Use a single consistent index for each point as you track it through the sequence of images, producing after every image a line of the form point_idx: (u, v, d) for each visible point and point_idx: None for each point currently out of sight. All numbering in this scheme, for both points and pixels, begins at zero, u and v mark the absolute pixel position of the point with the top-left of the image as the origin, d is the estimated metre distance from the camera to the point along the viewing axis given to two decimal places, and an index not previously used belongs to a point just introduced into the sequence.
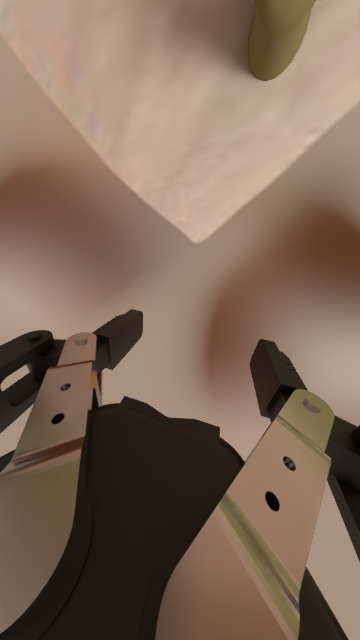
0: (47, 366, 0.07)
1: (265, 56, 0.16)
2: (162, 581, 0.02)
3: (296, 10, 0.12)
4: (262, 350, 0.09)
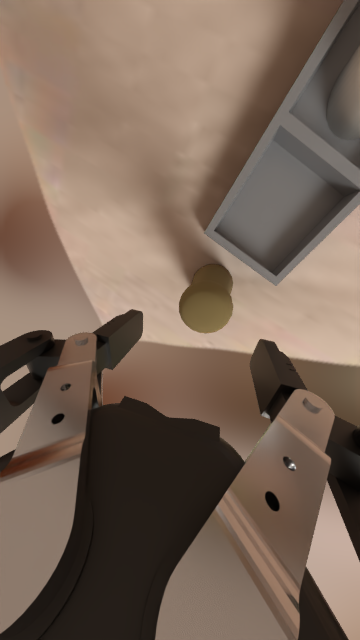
0: (47, 366, 0.07)
1: None
2: (162, 581, 0.02)
3: (195, 330, 0.15)
4: (262, 350, 0.09)
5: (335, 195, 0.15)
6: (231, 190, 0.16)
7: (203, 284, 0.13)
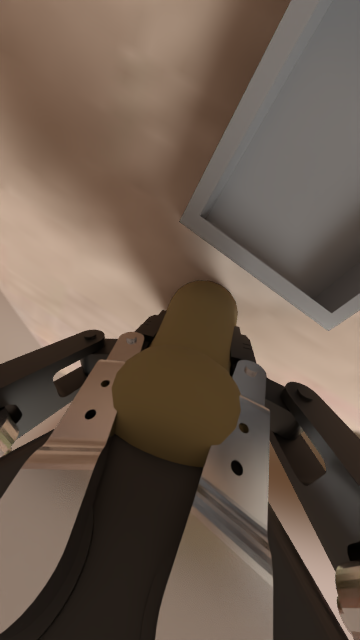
0: (94, 366, 0.07)
1: None
2: (153, 611, 0.02)
3: None
4: None
5: None
6: (240, 109, 0.06)
7: (151, 380, 0.04)
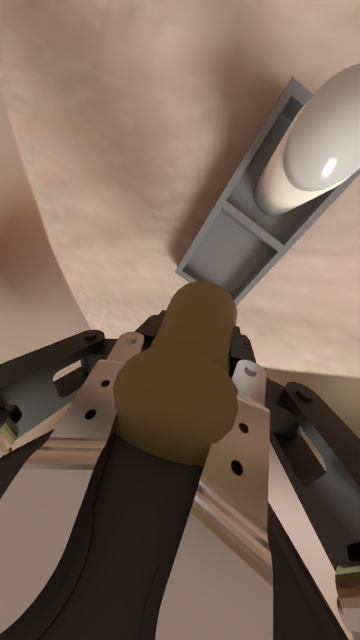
0: (94, 365, 0.07)
1: None
2: (152, 611, 0.02)
3: None
4: None
5: (267, 250, 0.21)
6: (192, 244, 0.21)
7: (150, 382, 0.04)
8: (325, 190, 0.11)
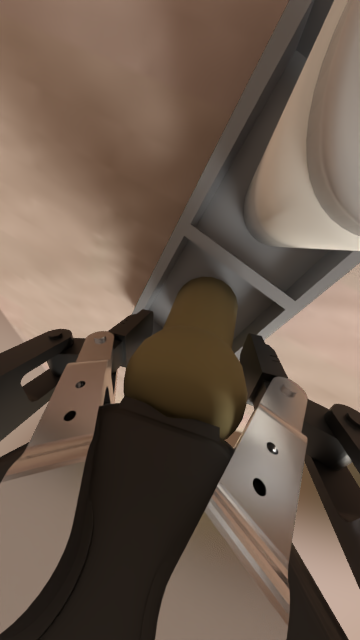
0: (65, 364, 0.07)
1: None
2: (158, 590, 0.02)
3: None
4: (249, 343, 0.09)
5: (266, 297, 0.13)
6: (145, 290, 0.13)
7: (171, 347, 0.05)
8: None
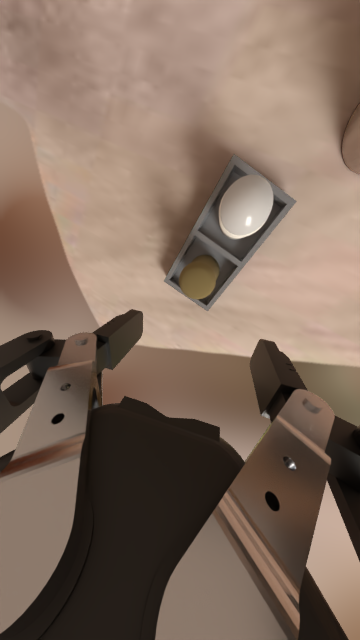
0: (47, 366, 0.07)
1: None
2: (162, 581, 0.02)
3: (190, 297, 0.22)
4: (262, 350, 0.09)
5: (232, 263, 0.28)
6: (175, 261, 0.28)
7: (195, 263, 0.20)
8: (248, 234, 0.18)
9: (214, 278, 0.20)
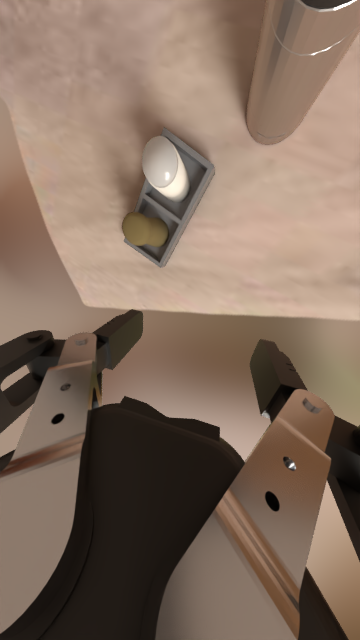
0: (47, 366, 0.07)
1: None
2: (162, 581, 0.02)
3: (131, 242, 0.27)
4: (262, 350, 0.09)
5: (178, 225, 0.34)
6: None
7: (131, 212, 0.26)
8: (167, 187, 0.24)
9: (147, 225, 0.26)
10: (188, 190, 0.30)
